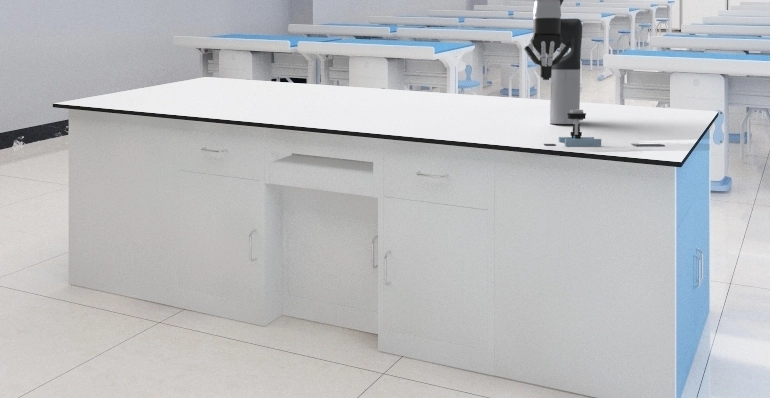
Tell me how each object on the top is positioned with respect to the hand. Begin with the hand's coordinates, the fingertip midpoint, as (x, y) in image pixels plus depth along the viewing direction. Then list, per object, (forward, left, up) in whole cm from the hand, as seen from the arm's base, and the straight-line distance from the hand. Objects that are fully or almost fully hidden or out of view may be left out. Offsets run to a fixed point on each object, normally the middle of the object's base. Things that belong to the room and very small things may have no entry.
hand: (545, 79), depth 262 cm
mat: (+2, +29, -18) cm, 34 cm away
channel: (0, +10, -18) cm, 21 cm away
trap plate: (-1, +2, -18) cm, 19 cm away
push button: (0, +9, -19) cm, 21 cm away
